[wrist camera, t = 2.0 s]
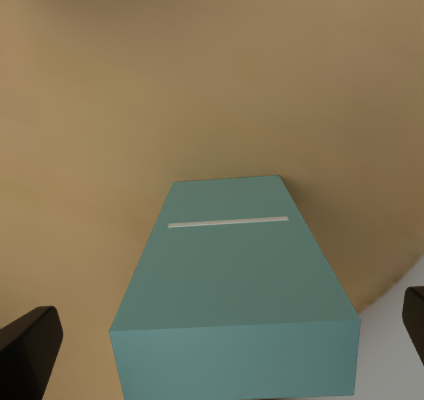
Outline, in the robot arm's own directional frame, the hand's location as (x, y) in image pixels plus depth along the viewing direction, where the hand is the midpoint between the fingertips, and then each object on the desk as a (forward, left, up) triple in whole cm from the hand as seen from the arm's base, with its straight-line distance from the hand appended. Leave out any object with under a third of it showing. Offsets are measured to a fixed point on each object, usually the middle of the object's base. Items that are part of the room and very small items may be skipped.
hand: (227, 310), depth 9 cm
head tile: (0, 0, -8) cm, 8 cm away
